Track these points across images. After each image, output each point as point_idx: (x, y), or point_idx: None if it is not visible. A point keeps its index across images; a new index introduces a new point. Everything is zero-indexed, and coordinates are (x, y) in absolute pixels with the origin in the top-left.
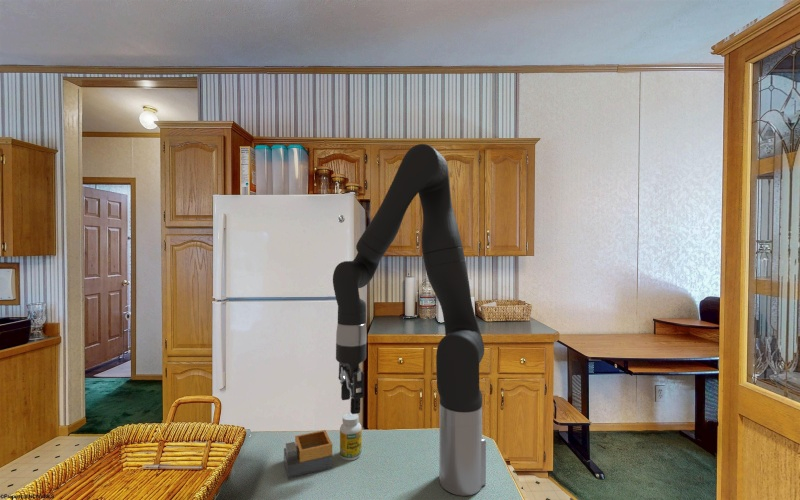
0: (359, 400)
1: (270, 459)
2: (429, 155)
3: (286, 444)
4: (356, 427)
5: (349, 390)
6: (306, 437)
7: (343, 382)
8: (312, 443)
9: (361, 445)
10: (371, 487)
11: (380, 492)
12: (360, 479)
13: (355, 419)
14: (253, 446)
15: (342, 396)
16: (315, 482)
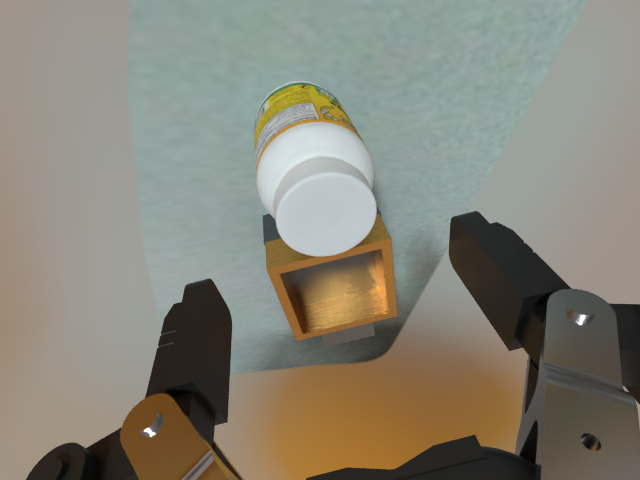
0: (567, 285)
1: (282, 329)
2: None
3: (330, 345)
4: (359, 162)
5: (204, 337)
6: (294, 309)
7: (223, 455)
8: (287, 276)
9: (316, 92)
10: (524, 59)
11: (568, 27)
12: (464, 97)
13: (372, 192)
14: None
15: (229, 336)
16: (418, 227)
